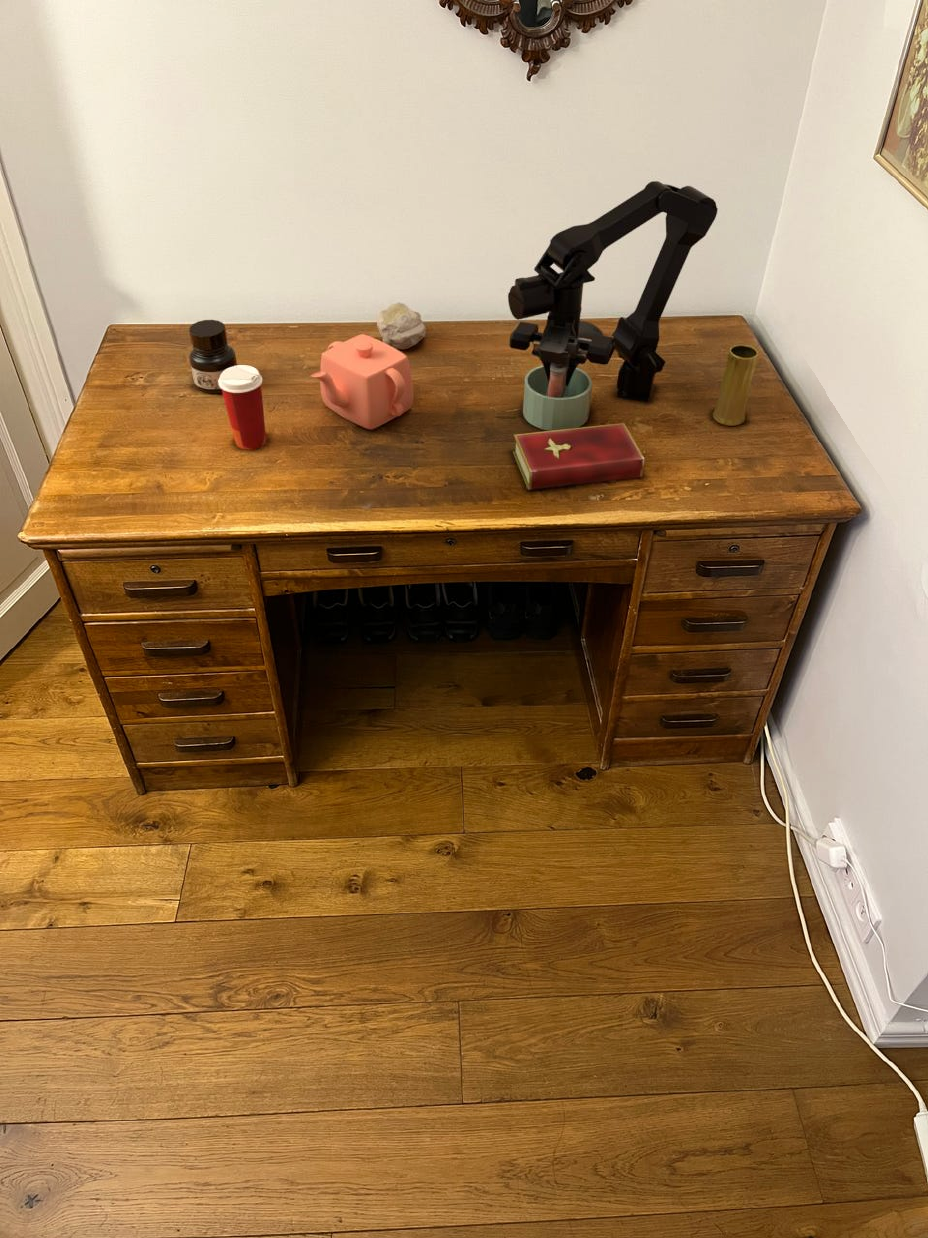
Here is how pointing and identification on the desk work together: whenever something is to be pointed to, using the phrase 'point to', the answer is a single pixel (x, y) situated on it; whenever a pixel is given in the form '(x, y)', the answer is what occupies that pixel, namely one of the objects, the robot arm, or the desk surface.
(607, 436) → the hardcover book
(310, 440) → the desk surface
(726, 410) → the vase
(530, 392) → the pen pot
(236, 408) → the paper cup
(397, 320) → the grey rock
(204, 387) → the ink bottle
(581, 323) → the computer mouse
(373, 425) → the teapot
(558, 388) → the lighter
